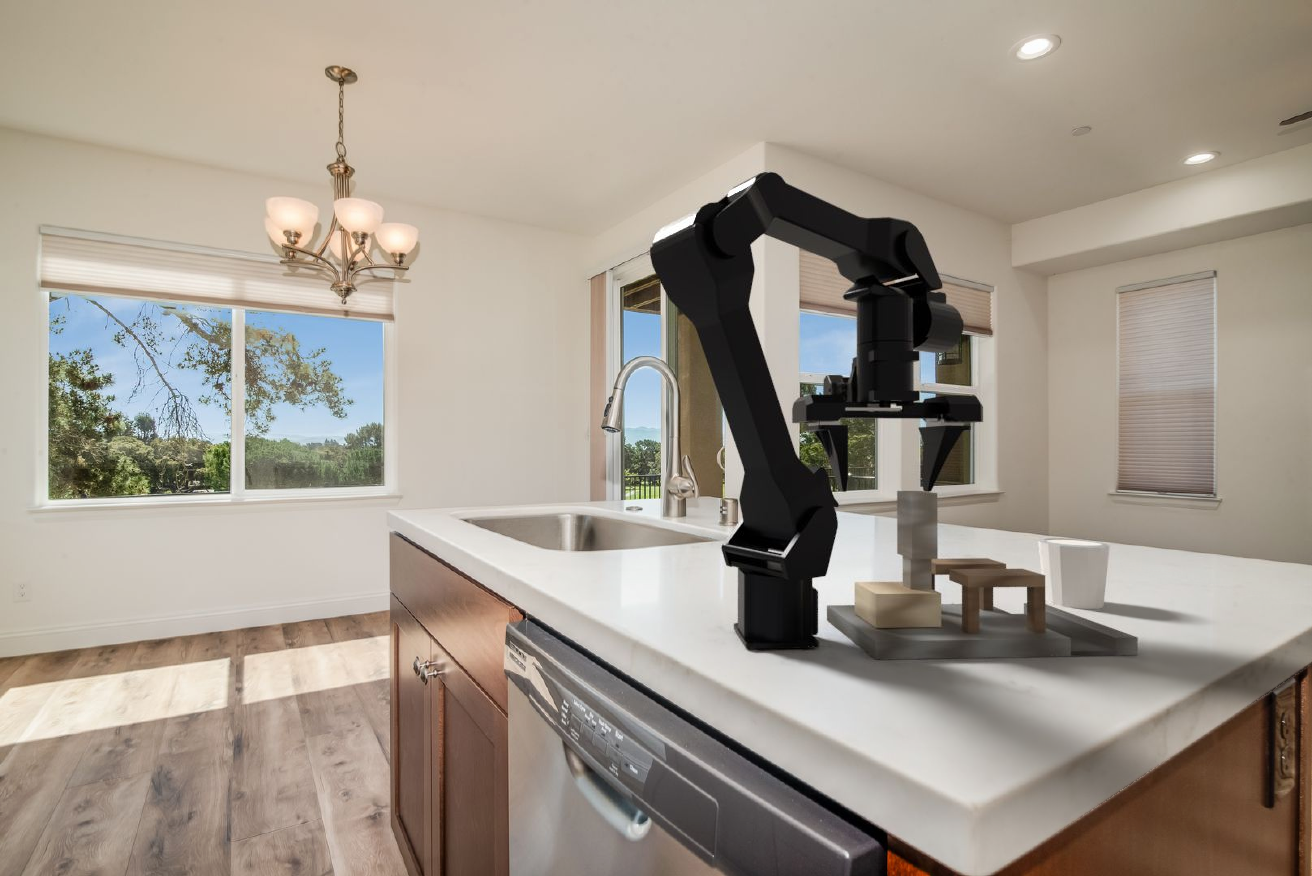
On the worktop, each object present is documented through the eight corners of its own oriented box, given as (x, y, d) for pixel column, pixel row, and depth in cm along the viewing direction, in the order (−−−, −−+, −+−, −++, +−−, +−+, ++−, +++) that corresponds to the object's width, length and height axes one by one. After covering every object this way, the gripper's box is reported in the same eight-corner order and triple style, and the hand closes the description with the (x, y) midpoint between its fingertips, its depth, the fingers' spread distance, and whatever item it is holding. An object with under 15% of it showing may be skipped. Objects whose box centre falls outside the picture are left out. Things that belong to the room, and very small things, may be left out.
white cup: (1027, 600, 73) (1027, 540, 73) (1054, 593, 77) (1053, 536, 77) (1095, 613, 67) (1094, 548, 67) (1120, 604, 71) (1119, 543, 71)
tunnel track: (875, 659, 52) (875, 581, 52) (826, 620, 64) (826, 556, 64) (1137, 655, 54) (1137, 578, 54) (1042, 617, 66) (1041, 555, 66)
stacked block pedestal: (876, 627, 56) (875, 493, 56) (854, 613, 61) (854, 490, 61) (943, 627, 56) (943, 493, 56) (916, 612, 61) (916, 490, 61)
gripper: (931, 357, 76) (932, 486, 75) (779, 355, 74) (779, 487, 74) (985, 341, 64) (986, 493, 64) (807, 339, 63) (807, 493, 63)
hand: (885, 491), depth 67 cm, fingers open, 9 cm apart
